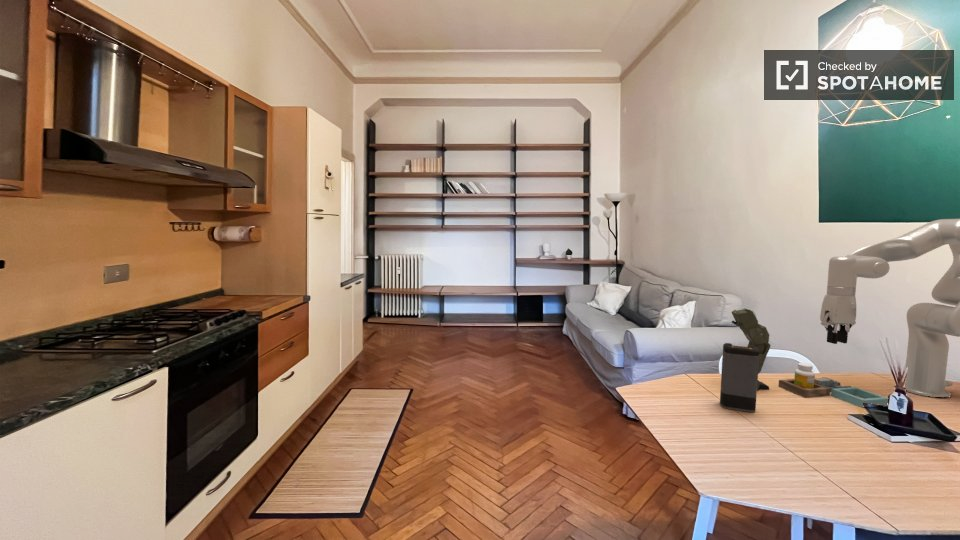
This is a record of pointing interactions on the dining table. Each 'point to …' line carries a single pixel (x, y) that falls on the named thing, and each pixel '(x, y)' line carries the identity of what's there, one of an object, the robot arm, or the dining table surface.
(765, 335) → the mechanical leg
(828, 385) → the grey stepped block
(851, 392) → the green square tray
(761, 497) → the dining table surface
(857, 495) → the dining table surface
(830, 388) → the guide
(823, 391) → the socket block
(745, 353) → the electronic device
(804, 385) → the supplement bottle
